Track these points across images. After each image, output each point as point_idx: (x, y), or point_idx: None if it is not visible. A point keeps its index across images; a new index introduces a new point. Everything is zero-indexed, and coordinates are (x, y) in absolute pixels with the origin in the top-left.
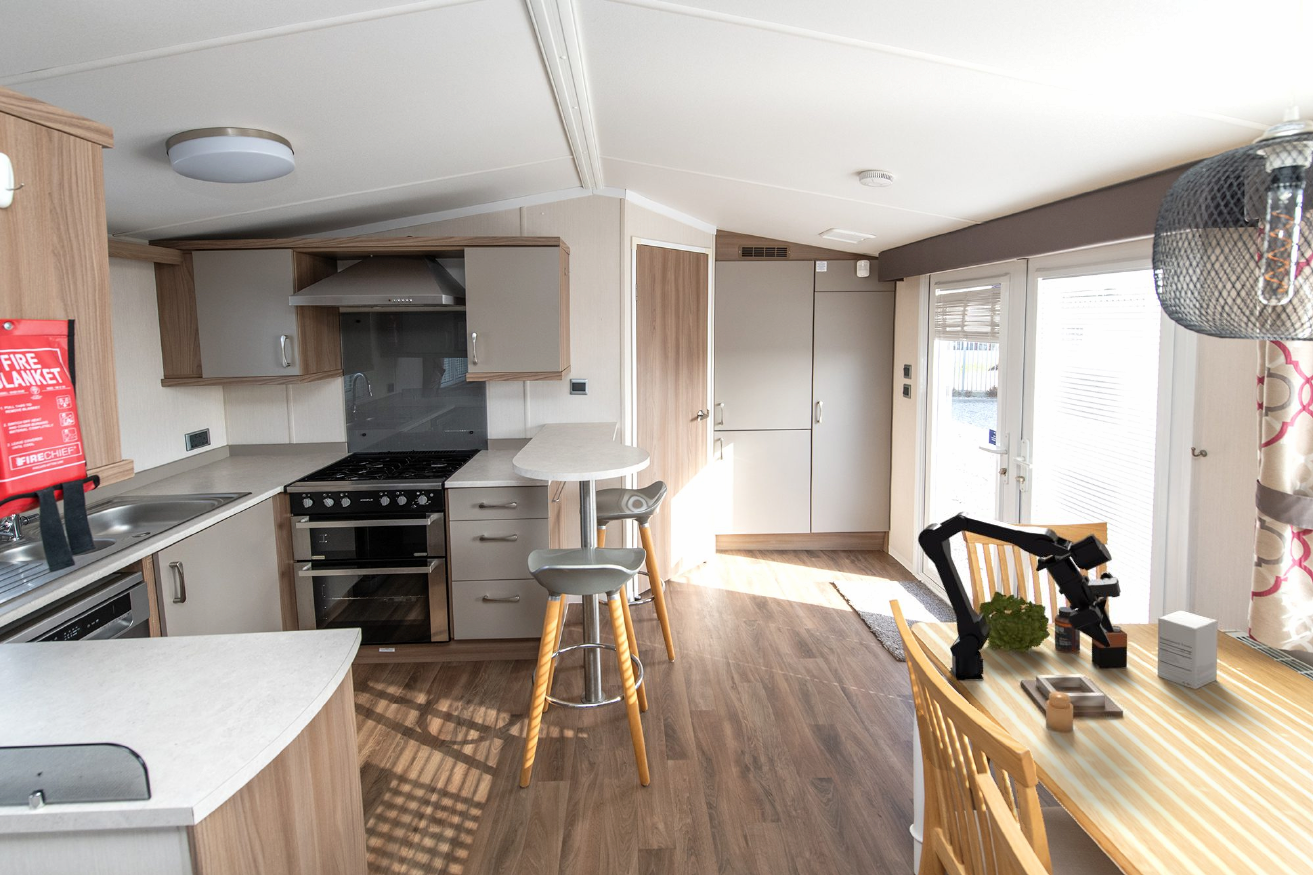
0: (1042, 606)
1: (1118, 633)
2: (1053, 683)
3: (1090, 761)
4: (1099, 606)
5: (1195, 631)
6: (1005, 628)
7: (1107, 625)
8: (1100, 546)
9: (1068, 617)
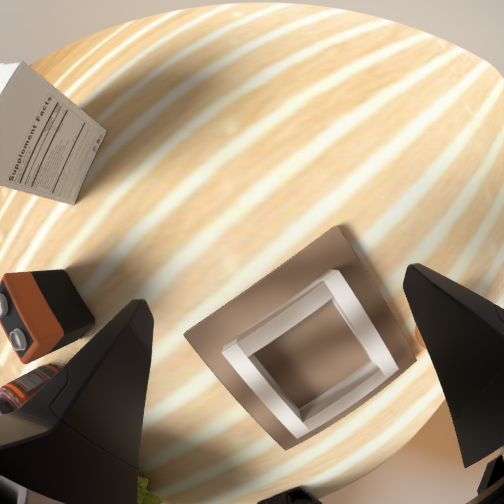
0: None
1: (12, 295)
2: (287, 399)
3: (497, 246)
4: (62, 472)
5: (26, 64)
6: None
7: (134, 347)
8: None
9: None
